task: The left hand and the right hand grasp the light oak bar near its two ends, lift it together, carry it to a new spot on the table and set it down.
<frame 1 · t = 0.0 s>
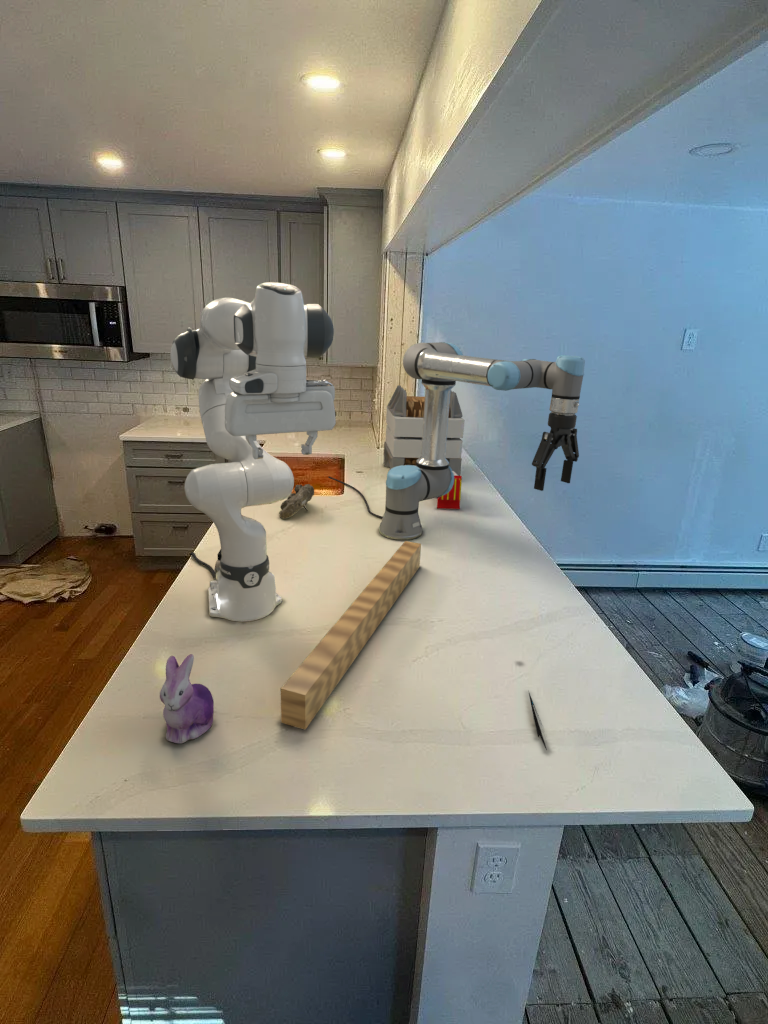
left hand: (282, 456, 106), 48 cm above the counter, tool pointing down, fingers open, 8 cm apart
right hand: (552, 485, 166), 28 cm above the counter, tool pointing down, fingers open, 13 cm apart
figurine character: (232, 569, 168), on the counter
toy: (443, 498, 240), on the counter
bar: (366, 626, 141), on the counter
transformer: (419, 473, 275), on the counter
fossil: (297, 510, 218), on the counter
figurine: (190, 728, 105), on the counter
feather: (530, 703, 116), on the counter
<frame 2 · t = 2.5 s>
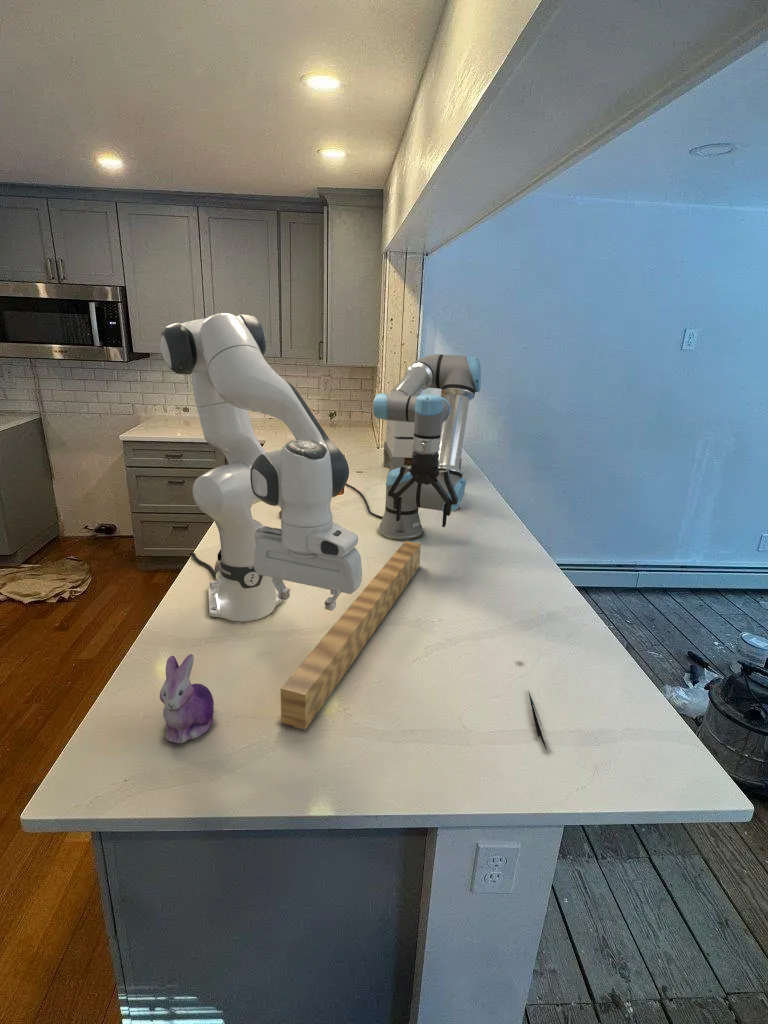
left hand: (306, 603, 104), 23 cm above the counter, tool pointing down, fingers open, 8 cm apart
right hand: (421, 522, 165), 16 cm above the counter, tool pointing down, fingers open, 13 cm apart
nothing on the counter moved.
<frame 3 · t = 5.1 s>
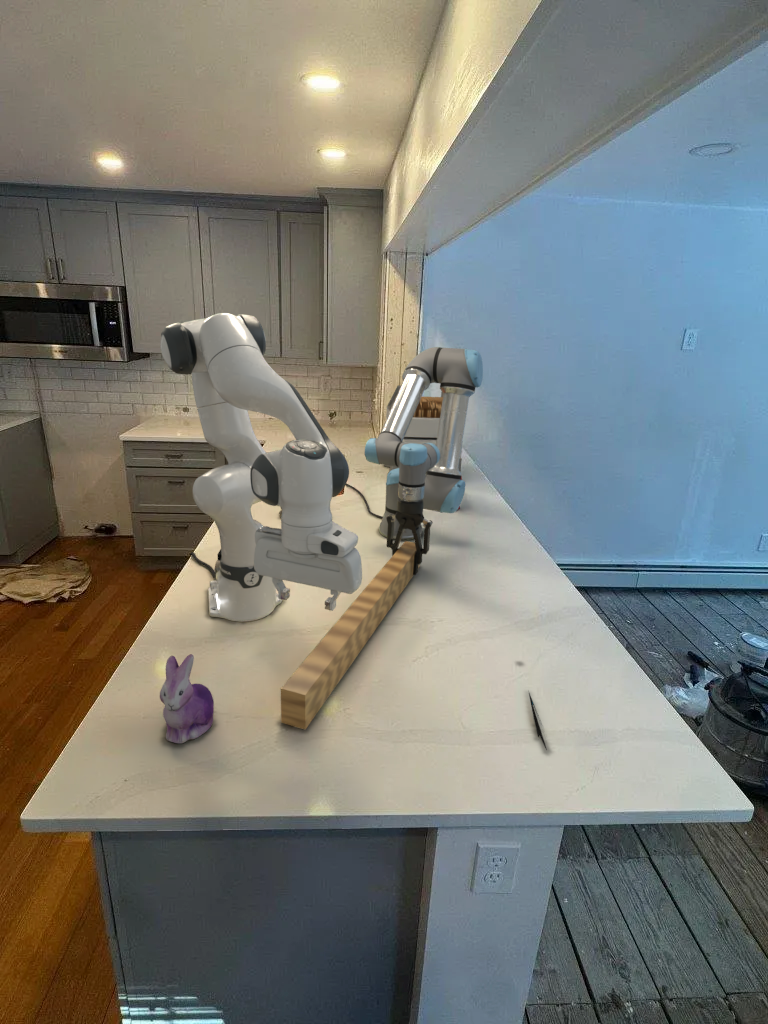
left hand: (306, 603, 104), 23 cm above the counter, tool pointing down, fingers open, 8 cm apart
right hand: (406, 571, 170), 1 cm above the counter, tool pointing down, fingers closed on bar, 5 cm apart
bar: (366, 626, 141), on the counter, touching right hand
everything else where it was.
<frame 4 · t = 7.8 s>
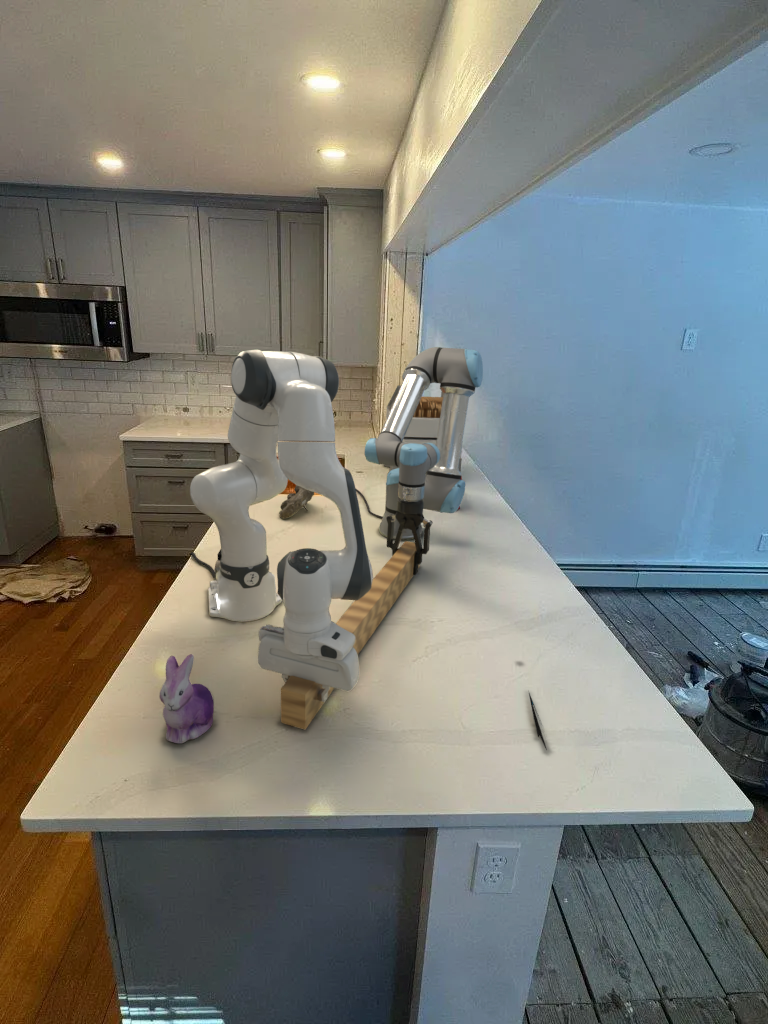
left hand: (307, 695, 111), 3 cm above the counter, tool pointing down, fingers closed on bar, 5 cm apart
right hand: (406, 571, 170), 1 cm above the counter, tool pointing down, fingers closed on bar, 5 cm apart
bar: (366, 626, 141), on the counter, touching right hand, left hand
everything else where it was.
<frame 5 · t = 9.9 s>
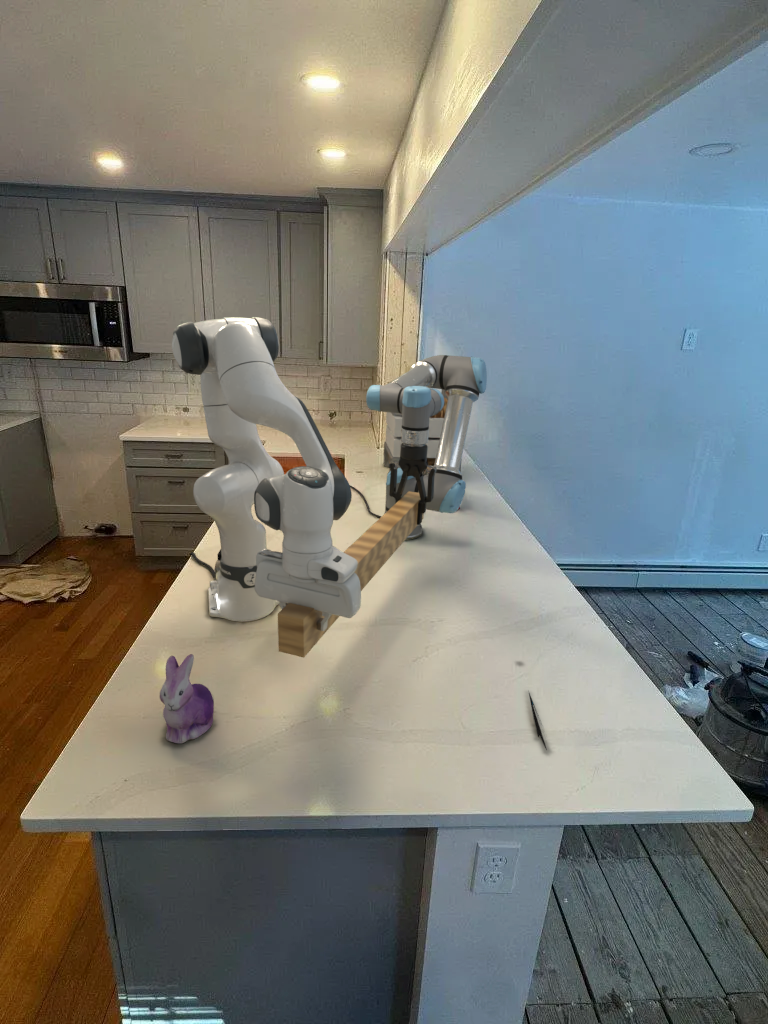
left hand: (306, 625, 106), 18 cm above the counter, tool pointing down, fingers closed on bar, 5 cm apart
right hand: (409, 521, 165), 17 cm above the counter, tool pointing down, fingers closed on bar, 5 cm apart
bar: (368, 568, 136), point 16 cm above the counter, touching right hand, left hand
everything else where it was.
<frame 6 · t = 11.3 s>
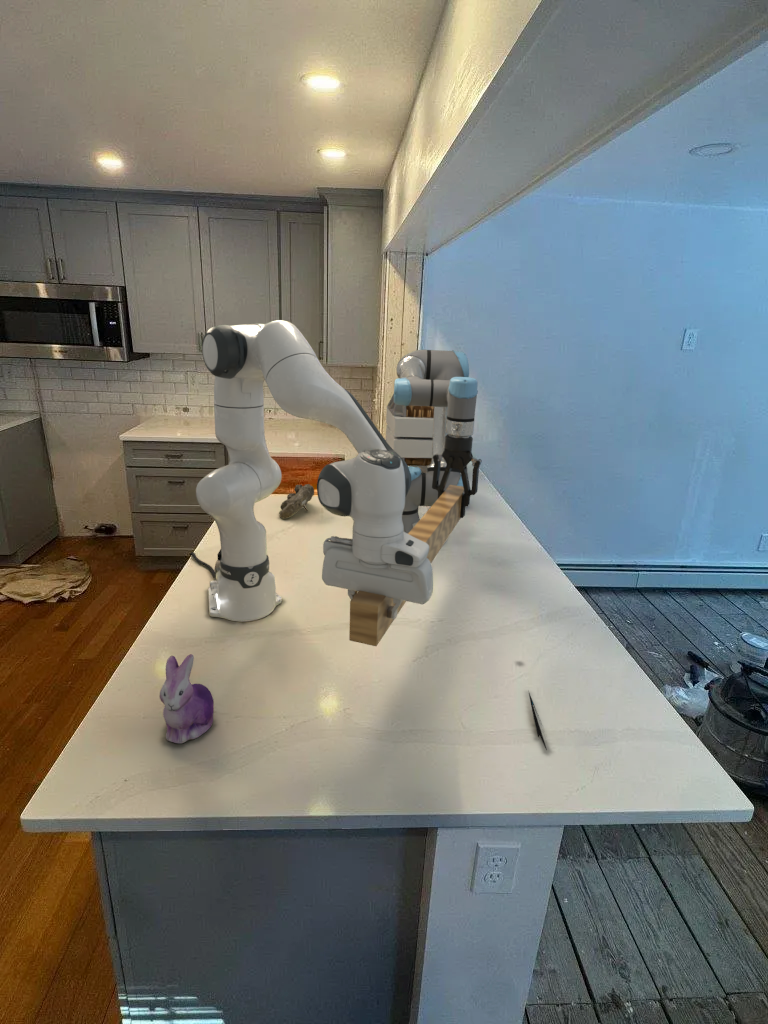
left hand: (375, 613, 103), 22 cm above the counter, tool pointing down, fingers closed on bar, 5 cm apart
right hand: (452, 514, 163), 20 cm above the counter, tool pointing down, fingers closed on bar, 5 cm apart
bar: (421, 560, 134), point 19 cm above the counter, touching right hand, left hand
everything else where it was.
when the right hand's fingers open (2 cm above the counter, at t = 14.7 s): bar drops 2 cm, on the counter.
when the left hand's fingers open (4 cm above the counter, at t = 14.9 s): bar stays where it is, on the counter.
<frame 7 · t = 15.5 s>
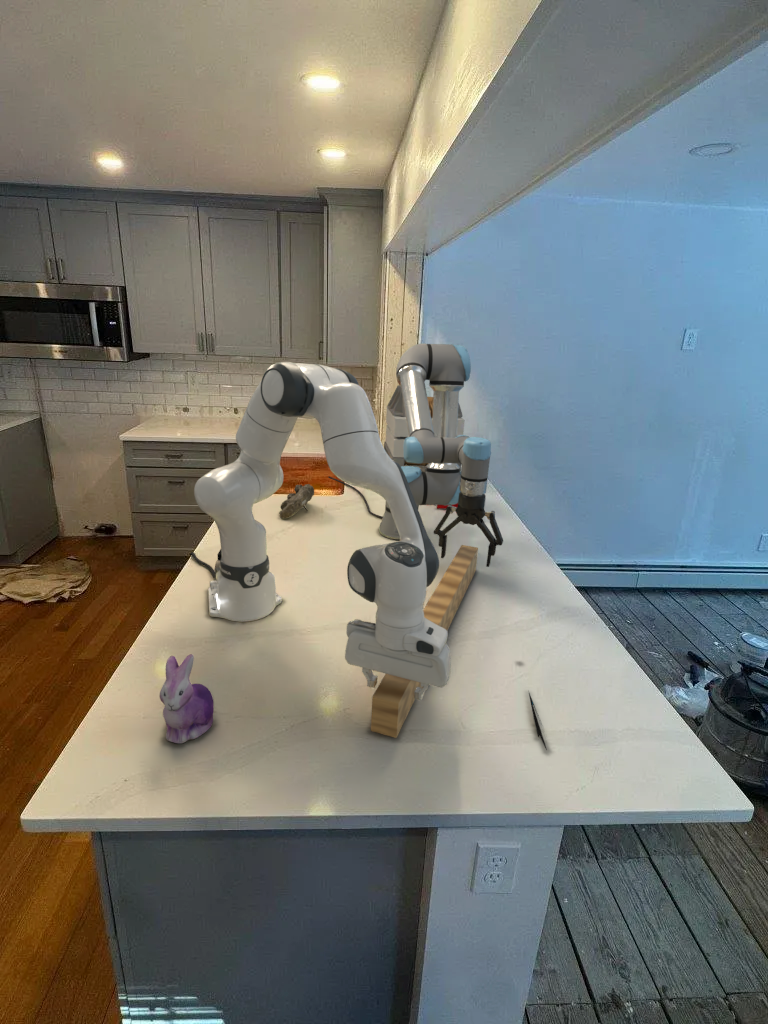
left hand: (395, 691, 109), 5 cm above the counter, tool pointing down, fingers open, 8 cm apart
right hand: (465, 560, 168), 5 cm above the counter, tool pointing down, fingers open, 13 cm apart
bar: (435, 631, 140), on the counter
everything else where it was.
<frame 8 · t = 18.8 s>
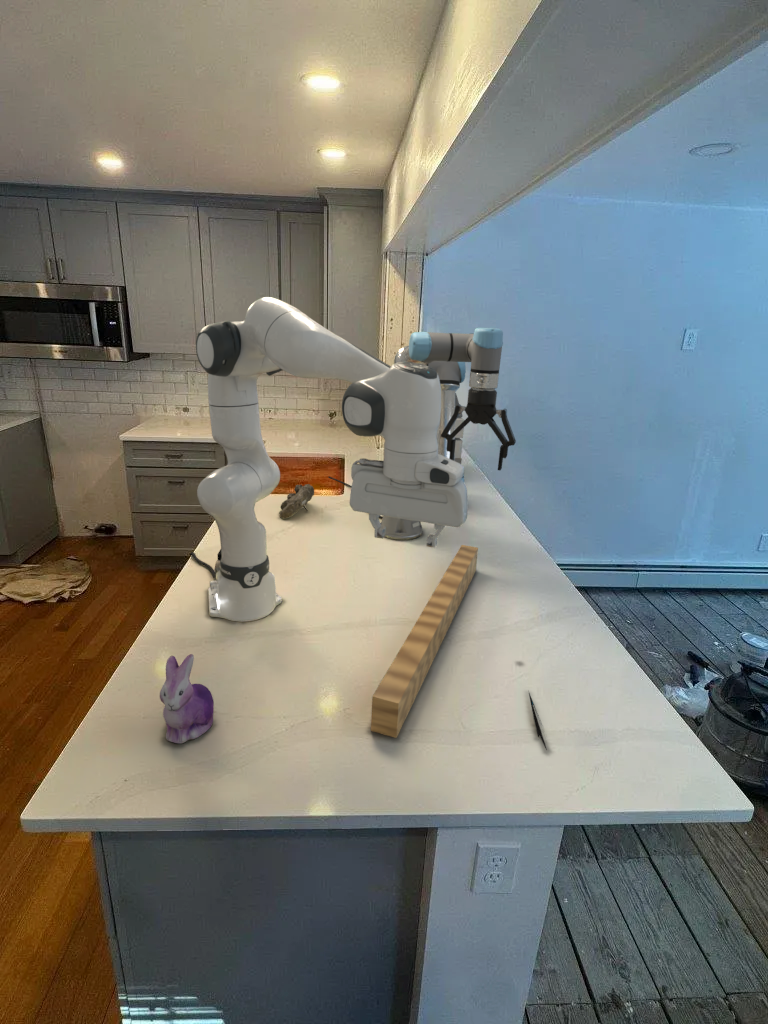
left hand: (405, 541, 98), 37 cm above the counter, tool pointing down, fingers open, 8 cm apart
right hand: (475, 466, 158), 34 cm above the counter, tool pointing down, fingers open, 13 cm apart
nothing on the counter moved.
at the end: bar inside the target area (0.2 cm from its centre), on the counter; bar tilted 0°; bar never tilted more than 1° during the clip; both hands held the bar at the same time; the left hand is holding nothing; the right hand is holding nothing; bar at rest at the end (0.0 cm/s) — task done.
